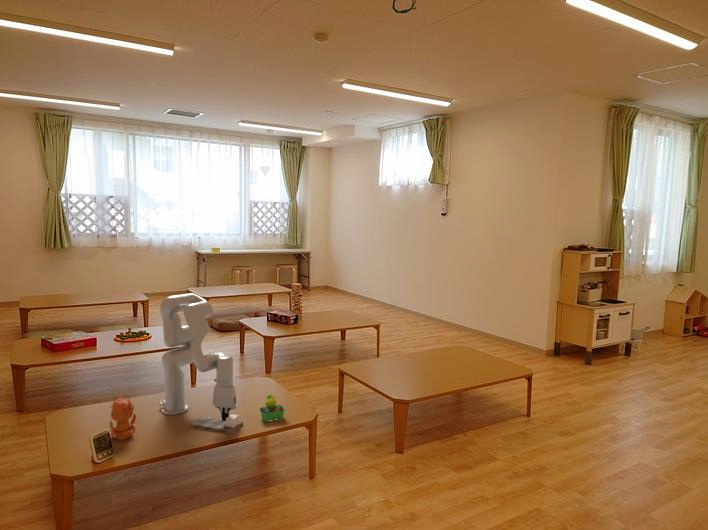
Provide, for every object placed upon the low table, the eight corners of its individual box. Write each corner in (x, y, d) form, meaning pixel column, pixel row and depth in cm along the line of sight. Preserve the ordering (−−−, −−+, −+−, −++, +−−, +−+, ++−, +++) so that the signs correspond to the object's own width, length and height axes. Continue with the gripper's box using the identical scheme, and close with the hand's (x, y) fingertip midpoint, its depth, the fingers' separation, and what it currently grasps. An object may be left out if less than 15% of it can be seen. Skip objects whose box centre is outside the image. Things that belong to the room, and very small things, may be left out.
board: (190, 427, 222) (190, 423, 222) (202, 418, 232) (202, 415, 232) (232, 433, 217) (232, 430, 216) (242, 424, 226) (242, 421, 226)
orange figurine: (129, 428, 220) (128, 391, 218) (140, 435, 213) (139, 397, 211) (104, 437, 211) (103, 398, 209) (115, 444, 204) (114, 404, 202)
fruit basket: (262, 423, 228) (262, 401, 227) (258, 416, 236) (258, 394, 235) (285, 420, 232) (285, 398, 231) (281, 413, 240) (281, 391, 239)
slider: (226, 426, 220) (226, 418, 220) (231, 422, 225) (231, 414, 224) (233, 427, 219) (233, 419, 219) (239, 423, 224) (239, 415, 223)
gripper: (206, 383, 219) (206, 421, 221) (235, 386, 215) (235, 425, 217) (215, 377, 226) (215, 414, 228) (243, 381, 223) (243, 418, 224)
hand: (225, 419), depth 223 cm, fingers closed
